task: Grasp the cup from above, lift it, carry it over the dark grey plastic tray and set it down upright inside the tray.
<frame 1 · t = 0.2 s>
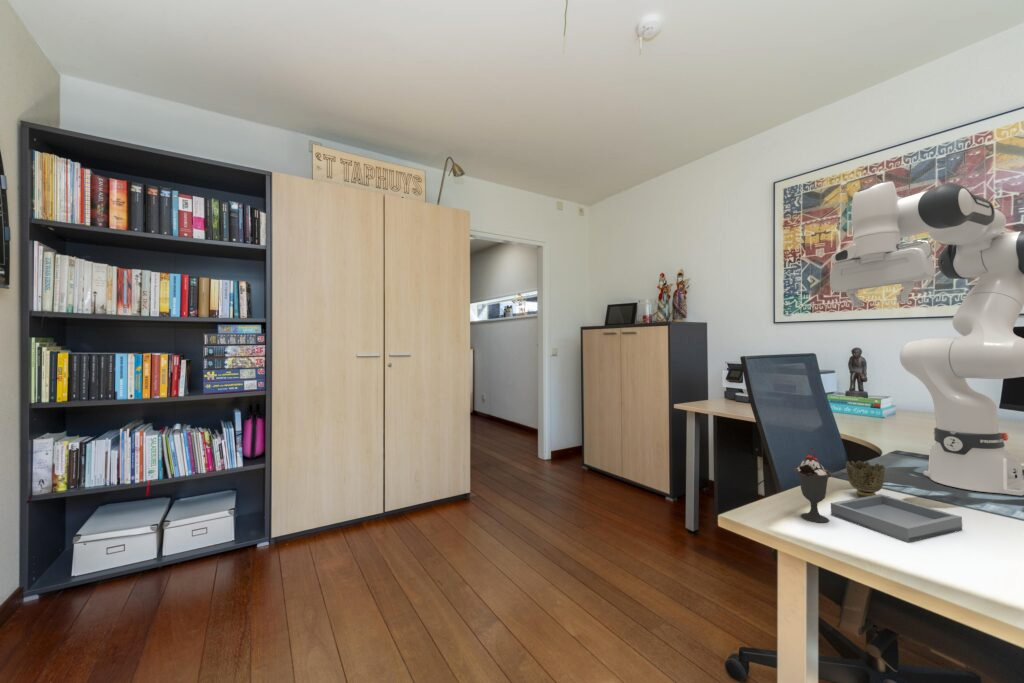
hand: (879, 305, 100), 47 cm above the table, tool pointing down, fingers open, 8 cm apart
tray: (893, 522, 86), on the table
cup: (866, 497, 100), on the table
sundae: (814, 519, 89), on the table
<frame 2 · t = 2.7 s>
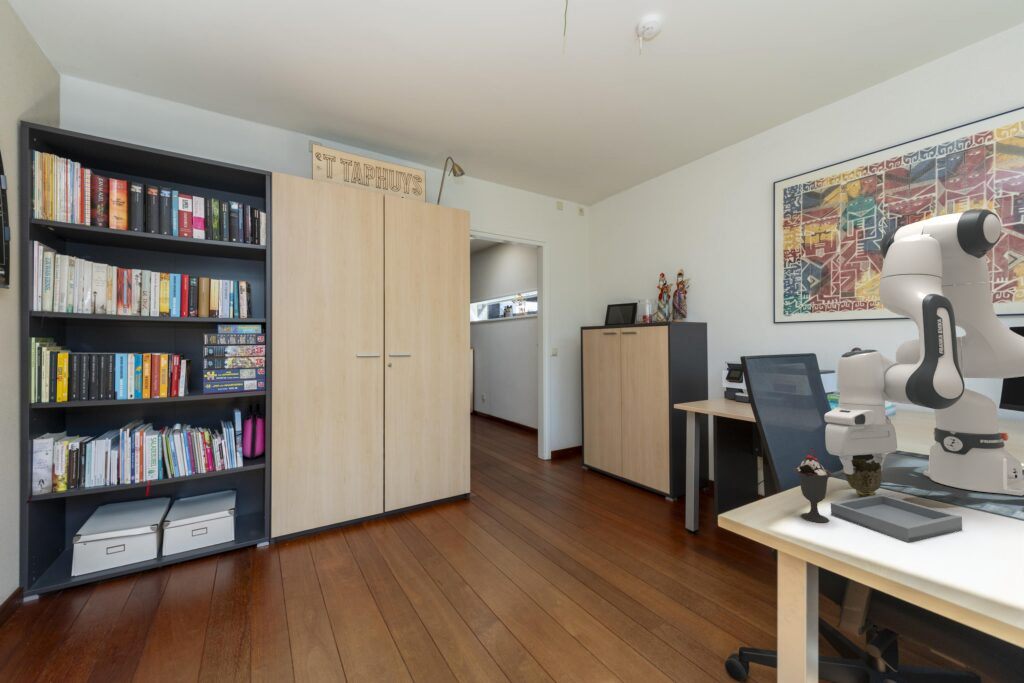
hand: (863, 472, 100), 6 cm above the table, tool pointing down, fingers open, 8 cm apart
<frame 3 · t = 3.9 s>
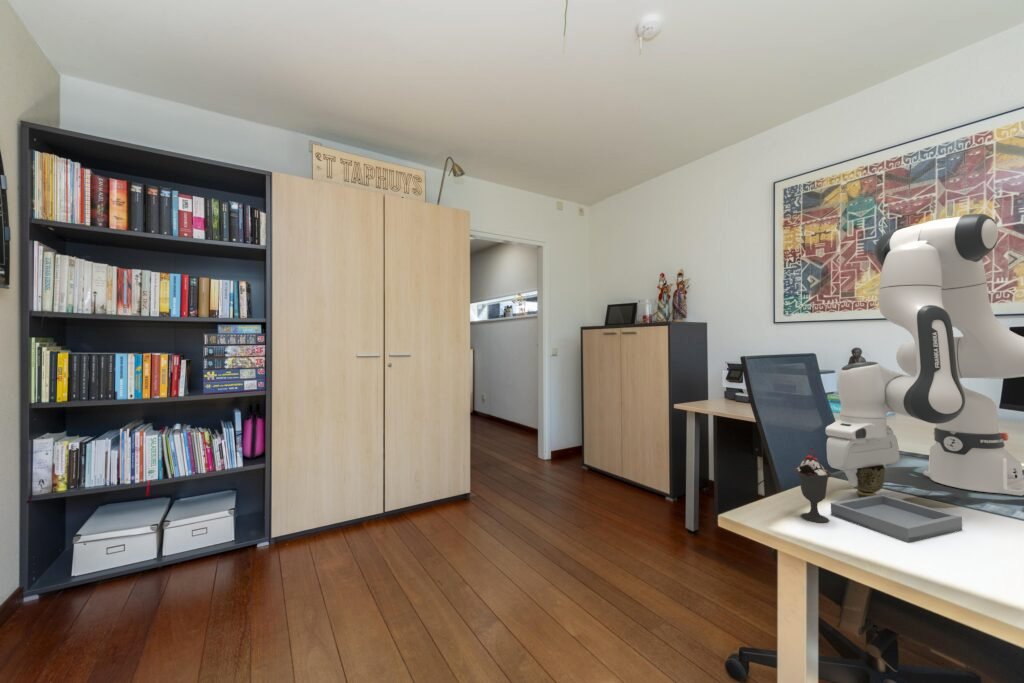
hand: (865, 484, 100), 3 cm above the table, tool pointing down, fingers closed on cup, 6 cm apart
cup: (866, 497, 100), on the table, touching gripper
everything else where it was.
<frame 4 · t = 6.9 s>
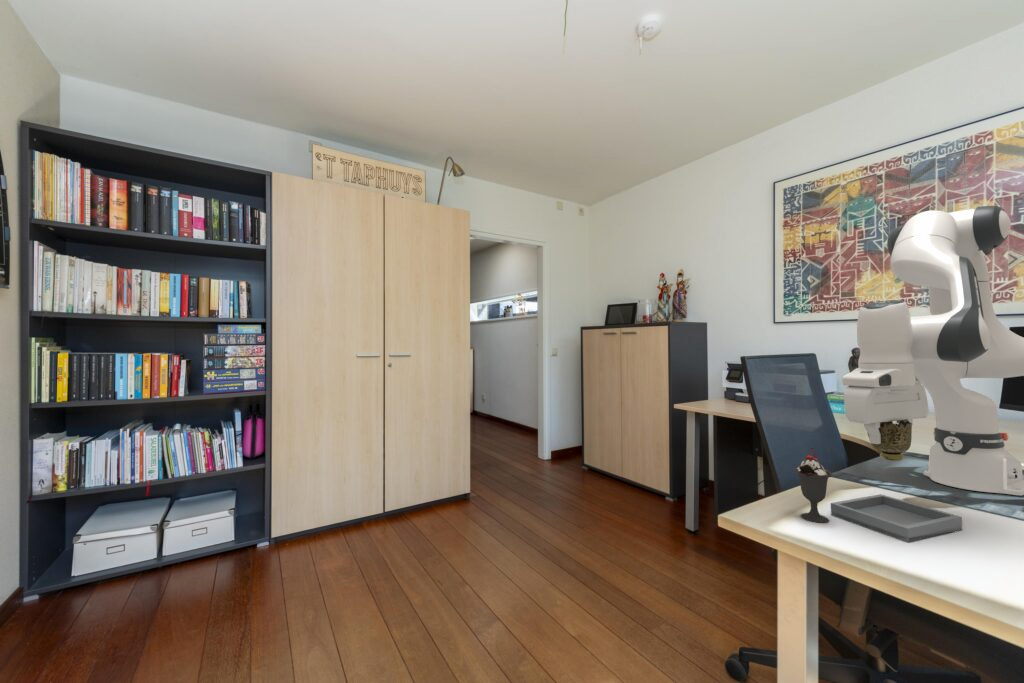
hand: (889, 441, 86), 17 cm above the table, tool pointing down, fingers closed on cup, 6 cm apart
cup: (892, 460, 86), point 13 cm above the table, touching gripper
everything else where it was.
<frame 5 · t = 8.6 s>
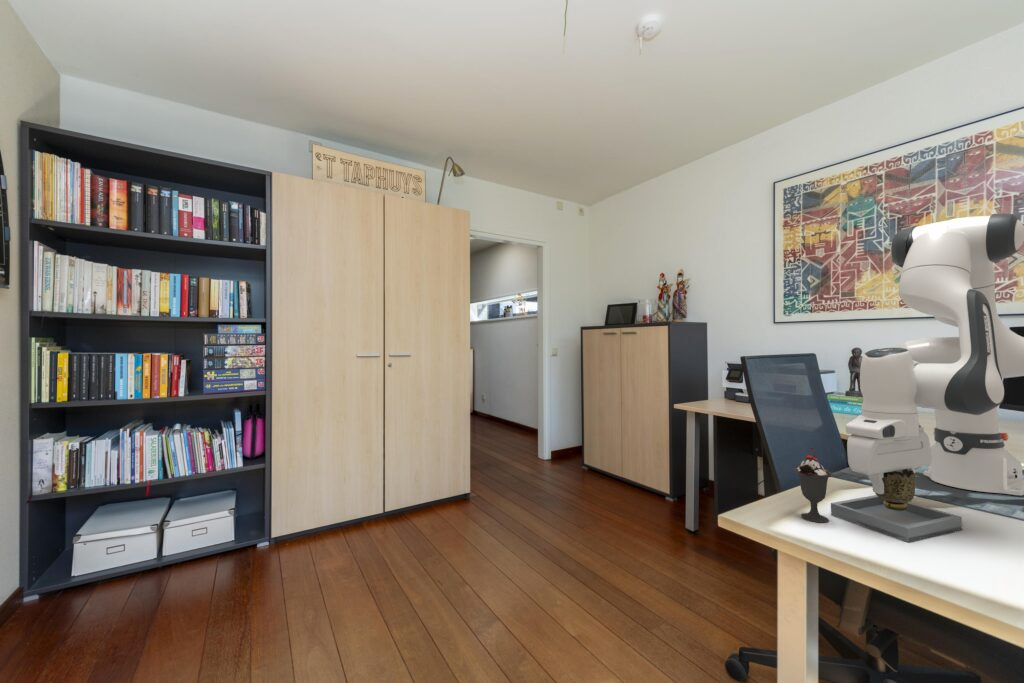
hand: (892, 490, 86), 7 cm above the table, tool pointing down, fingers closed on cup, 6 cm apart
cup: (895, 510, 85), point 3 cm above the table, touching gripper
everything else where it was.
when the fingers open (6 cm above the table, at t = 9.9 s): cup moves 2 cm, resting on tray.
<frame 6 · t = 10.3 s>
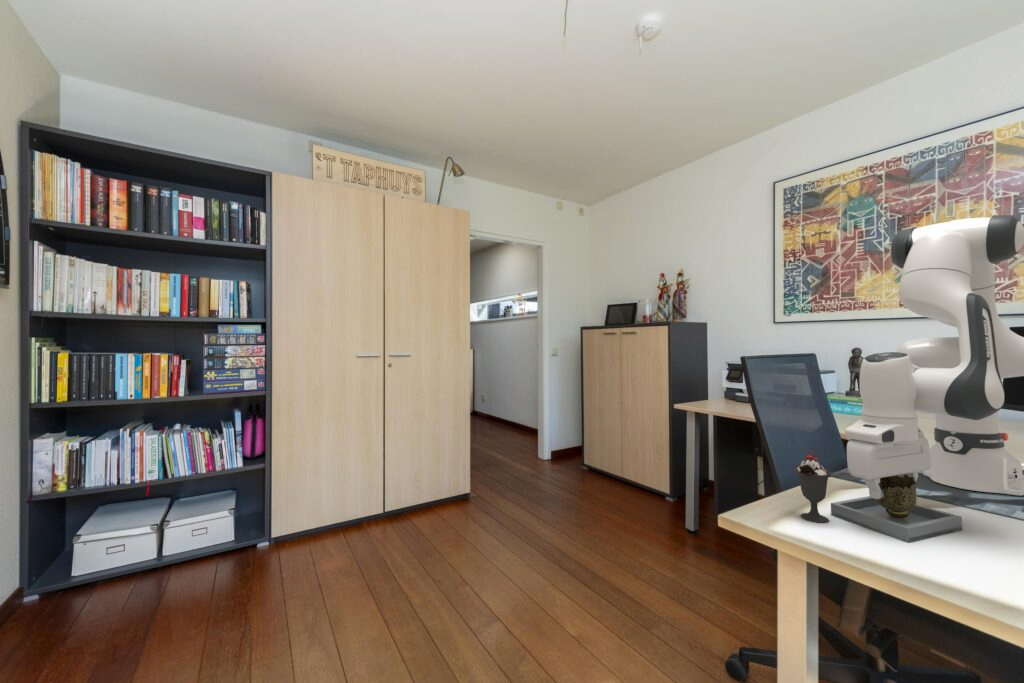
hand: (892, 495, 86), 6 cm above the table, tool pointing down, fingers open, 8 cm apart
cup: (898, 516, 86), point 1 cm above the table, touching gripper, tray
everything else where it was.
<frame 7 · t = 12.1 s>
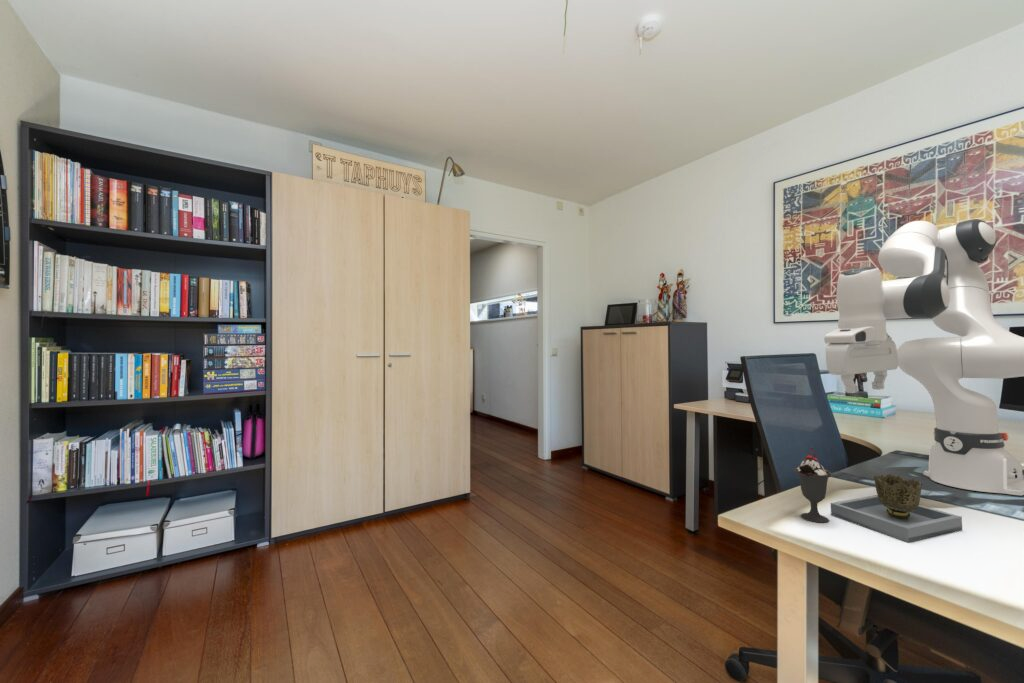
hand: (865, 391, 99), 26 cm above the table, tool pointing down, fingers open, 8 cm apart
cup: (898, 517, 86), point 1 cm above the table, touching tray
everything else where it was.
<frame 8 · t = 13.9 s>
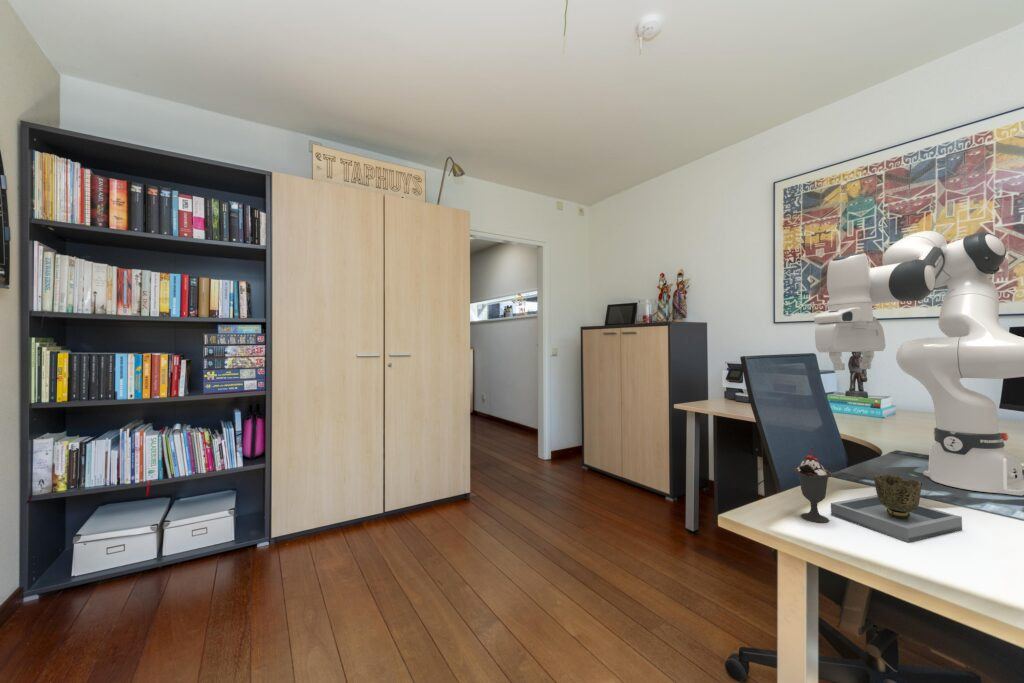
hand: (852, 369, 105), 31 cm above the table, tool pointing down, fingers open, 8 cm apart
nothing on the table moved.
at the end: cup inside the target area on the tray (1.8 cm from its centre), point 0.6 cm above the tray's base; cup tilted 1°; the gripper is holding nothing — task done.
